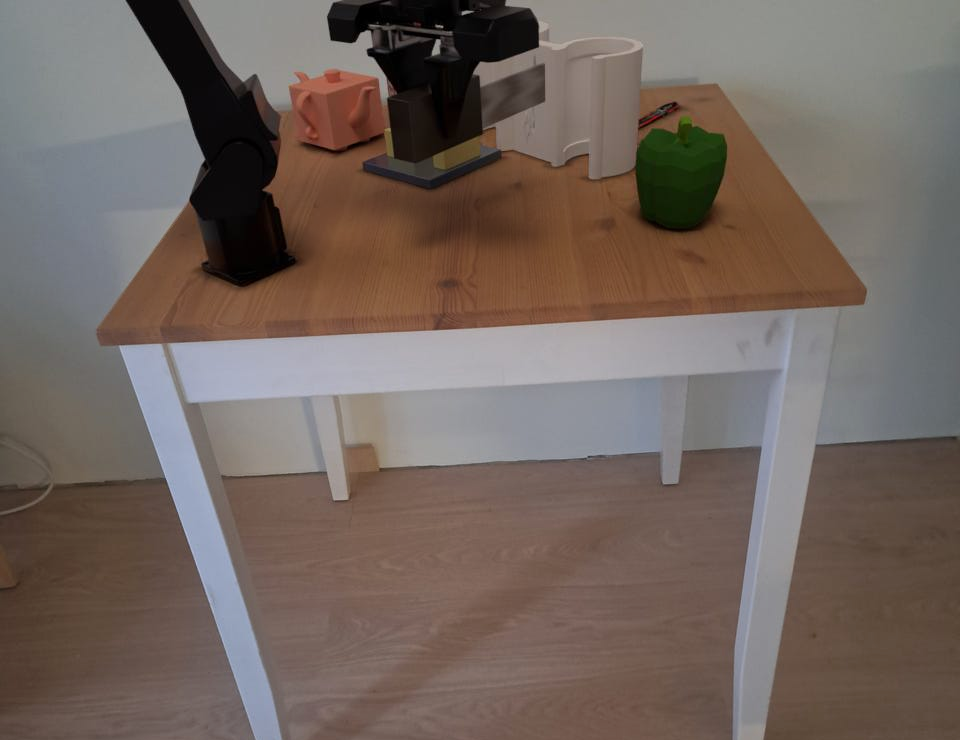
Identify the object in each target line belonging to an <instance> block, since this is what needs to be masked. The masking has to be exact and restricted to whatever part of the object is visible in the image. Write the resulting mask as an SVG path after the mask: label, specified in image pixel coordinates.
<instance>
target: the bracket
mask: <svg viewBox="0 0 960 740" xmlns="http://www.w3.org/2000/svg"><path fill="white" fill-rule="evenodd" d="M538 23H539V48H536V49H533V50H530V51H527V52H525V53H522V54H519V55H516V56H513V57H511V58H508V59H505V60H502V61H500V62H491V63H486V62H480V63H479V64H478V66H477V67H476V69H475V70H474V72H473V74H474V75H479V76H480V87H481V86H484V85H486V84H489V83H492V82H494V81H497V80H499V79H502V78H505V77H507V76H510V75H512V74H515V73H517V72H520V71H523V70H525V69H528V68H530V67H533V66H536V65H538V64H541V63H545V102H543V103H541V104H539V105H536V106H534V107H532V108H529V109H527V110H525V111H522V112H520V113H518V114H515V115H513V116H511V117H508V118H506V119H504V120H502V121H499V122H497V123H495V124H492V125H490V126H488V127H485V128H483V131H485V130H488V129H492V128H495V139H496V149H501V152H507V151H515V152H518V153H521V154H524V155H527V156H530V157H533V158H536V159H539V160H542V161H546V162H549V163H550V164H551V165H550V166H552V167H555V168H559V167H561V166H564V165H565V164H566V162H567V161H568V160H570V159H572V158H574V157H578V156H582V155H588V179H589V180H595V181H596V180H600V179H603V178H609V177H614V176H619V175H623V174H626V173H628V172H630V171H631V170H633V169H634V168H636V152H637V149H638V138H639V136H638V135H639V127H638V124H639V123H638V121H639V119H640V118H639V117H640V103H641V88H642V87H641V85H642V70H643V69H642V68H643V53H644V44H643V42H642V41H640V40H637V39H633V38H629V37H619V36H593V37H582V38H577V39H573V40H569V41H566V42H563V43H555V42H551V41H550V25H549V24H548V23H547V22H545V21H542V20H538Z"/></svg>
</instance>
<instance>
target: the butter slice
mask: <svg viewBox="0 0 960 740" xmlns="http://www.w3.org/2000/svg"><path fill="white" fill-rule="evenodd" d="M480 145H481V141H480V136H478V137H475V138H473V139H471V140H468V141H466V142H464V143H462V144H459V145H457V146H455V147H453V148H450V149H448V150H446V151H443V152H441V153H439V154H437V155H434V156H433V162H434V168H438V169H442V170H447V169H450V168H452V167H454V166H457V165H459V164H461V163H464V162H466V161H468V160H471V159H473V158H475V157H478V156H480Z"/></svg>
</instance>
